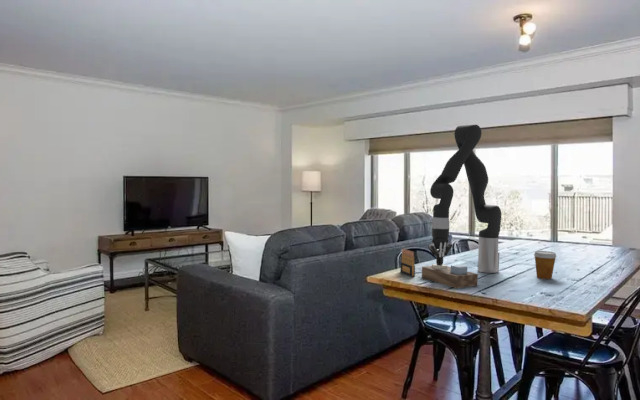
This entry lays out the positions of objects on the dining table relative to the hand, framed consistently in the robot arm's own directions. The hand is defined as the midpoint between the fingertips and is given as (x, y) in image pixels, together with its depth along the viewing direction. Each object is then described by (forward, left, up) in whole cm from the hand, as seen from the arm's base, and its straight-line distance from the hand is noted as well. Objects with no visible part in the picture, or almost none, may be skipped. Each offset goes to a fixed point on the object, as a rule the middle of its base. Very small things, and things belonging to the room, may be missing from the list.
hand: (439, 264), depth 200 cm
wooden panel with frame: (+8, -13, -7) cm, 17 cm away
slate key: (0, +12, -2) cm, 12 cm away
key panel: (0, +6, -6) cm, 9 cm away
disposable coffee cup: (-48, +18, -7) cm, 52 cm away
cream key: (0, 0, -4) cm, 4 cm away
